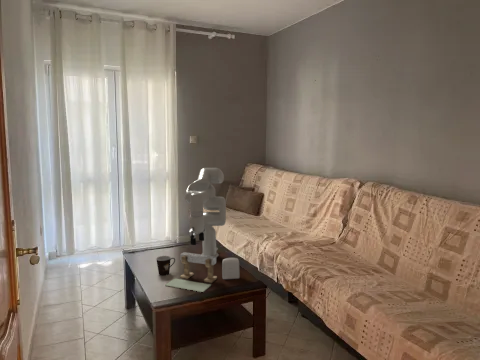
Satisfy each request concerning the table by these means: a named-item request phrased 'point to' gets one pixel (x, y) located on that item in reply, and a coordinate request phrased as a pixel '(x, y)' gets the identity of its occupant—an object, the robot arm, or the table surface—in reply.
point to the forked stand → (189, 274)
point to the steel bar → (198, 258)
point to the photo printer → (230, 268)
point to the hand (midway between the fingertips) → (197, 242)
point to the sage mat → (188, 285)
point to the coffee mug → (164, 265)
